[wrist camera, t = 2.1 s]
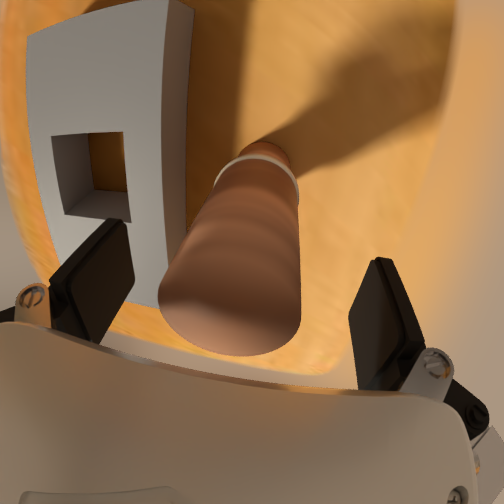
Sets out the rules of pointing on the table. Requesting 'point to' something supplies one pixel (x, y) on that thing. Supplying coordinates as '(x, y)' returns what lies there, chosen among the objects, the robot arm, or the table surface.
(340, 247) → the table surface
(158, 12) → the seat board
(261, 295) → the dowel
